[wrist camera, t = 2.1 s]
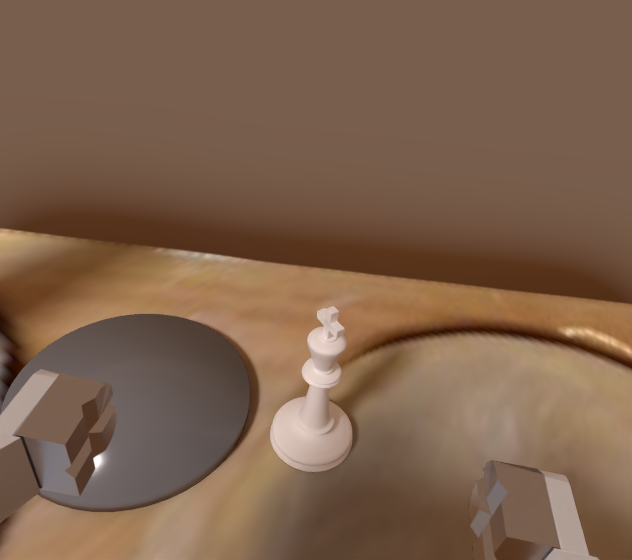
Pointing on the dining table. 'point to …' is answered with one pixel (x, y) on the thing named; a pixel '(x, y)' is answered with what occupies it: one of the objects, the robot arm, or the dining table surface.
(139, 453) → the charcoal plate
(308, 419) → the chess piece
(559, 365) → the dining table surface
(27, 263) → the dining table surface
